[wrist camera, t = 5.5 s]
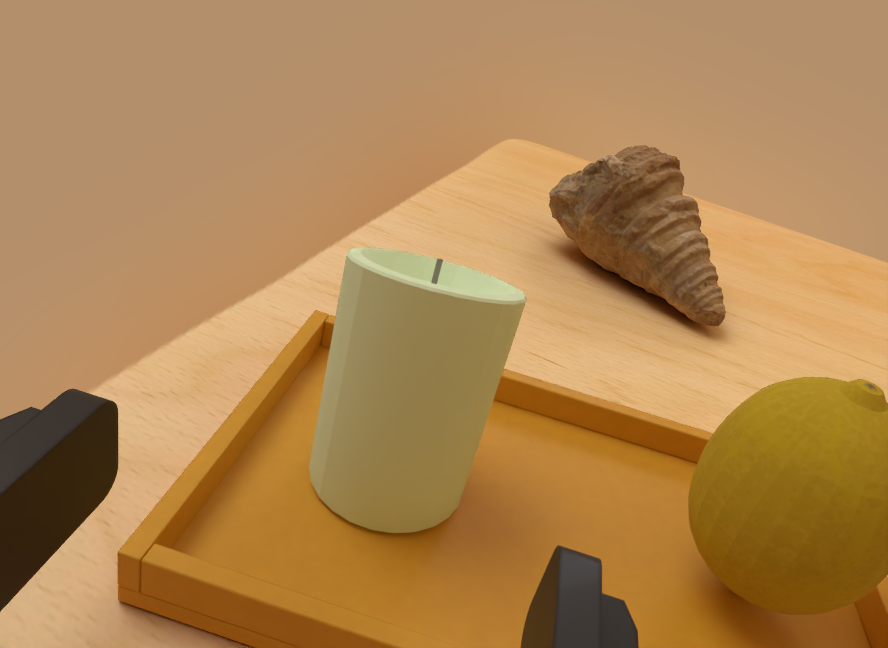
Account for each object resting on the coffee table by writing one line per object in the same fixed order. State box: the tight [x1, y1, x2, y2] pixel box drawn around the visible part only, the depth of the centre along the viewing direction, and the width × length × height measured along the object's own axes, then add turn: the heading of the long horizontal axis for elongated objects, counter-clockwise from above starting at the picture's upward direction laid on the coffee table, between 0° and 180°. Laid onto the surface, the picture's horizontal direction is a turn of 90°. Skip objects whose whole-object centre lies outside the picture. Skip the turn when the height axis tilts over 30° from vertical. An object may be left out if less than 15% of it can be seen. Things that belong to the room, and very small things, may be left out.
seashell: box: [549, 146, 726, 326], centre depth 42 cm, size 14×8×8 cm
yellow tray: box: [118, 310, 888, 648], centre depth 22 cm, size 21×13×2 cm, turn 78°
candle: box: [309, 247, 527, 533], centre depth 21 cm, size 5×5×8 cm
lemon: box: [688, 377, 888, 615], centre depth 20 cm, size 6×6×8 cm
